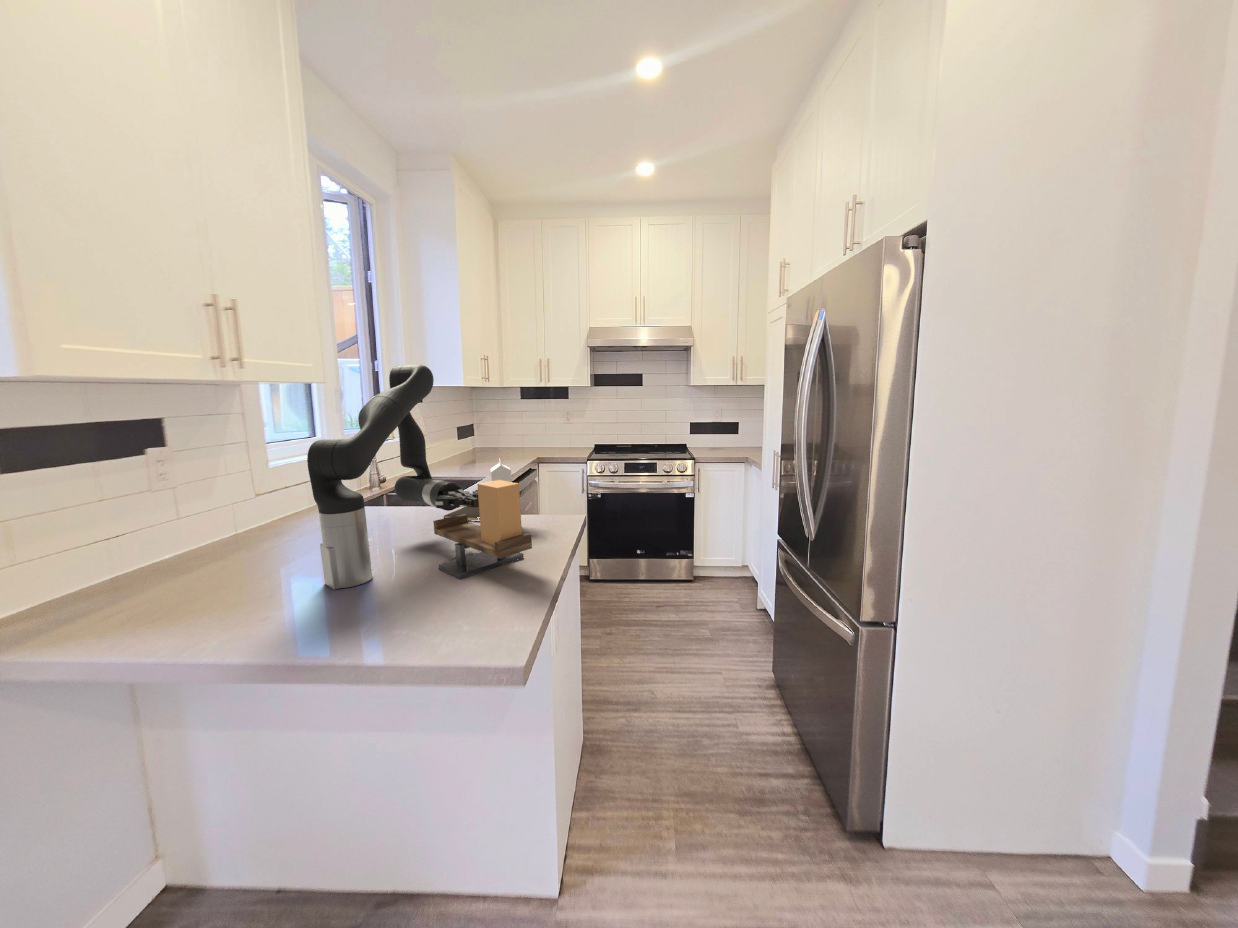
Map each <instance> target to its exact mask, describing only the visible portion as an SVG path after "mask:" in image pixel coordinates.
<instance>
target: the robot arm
mask: <svg viewBox="0 0 1238 928" xmlns="http://www.w3.org/2000/svg"><path fill="white" fill-rule="evenodd" d="M388 380H389V381H388V382H389V388H388V389H386V390H384V391H382V392H379V393H378V394H375V396H373V397H371V399H370V400H368V402H366V403H365V404H364V406H363V407H361V409H360V411H359V413H358V416H357V417H358V418H357V421H358V426H359V431H358V432H357V433H356V434H355V435H354V436H352V437H349V438H337V439H335V438H333V439H319V440H316V441H313V442H312V444H311V445H310V446H309V448H308V451H307V459H306V461H307V463H306V464H307V470H308V476H309V480H310V481H309V482H310V485H311V490H312V497H313V500H314V501H315V503H316V505H317V508H318V516H319V523H320V532H321V541H322V543H321V542H320V545H319V547H320V554H321V555H320V556H321V563H322V570H323V578H324V579H323V580H324V584H325V585H326V586H327V587H329V588H331V589H332V590H337V589H345V588H352V587H355V586H360V585H362V584H365V583H368V582H369V581H370V580H371V579H373V569H372V561H371V559H372V558H371V552H370V541H369V533H368V525H367V524H368V523H367V518H366V517H367V514H366V505H365V499H364V495H362V493H359V492H357V491H354V490H352V489H350V488H348V487H347V486H346V485H344V484H343V481H352V480H355V479H358V478H359V477H361V476H362V475H364V474H365V472H366V471H367V470H368V469H369V467H370V465H371V463H372V462H373V460H374V458H375V456H376V455H377V454H378V452H379V450H380V448H382V446H383V445H384V443H385V442H386V441H387V440H388V439H389V437H390V436H391V434H393V432H394V431H395V430H396V429H397V430H398V431H397V432H398V439H399V455H400V456H399V457H400V465H401V466H402V467H404V468H406V469H412V470H413V471H415V473H416V475H405V476H401V477H399V478H398V479H397V480H396V481H395V483H394V493H395V494H396V496H397V497H398V498H399V500H402V501H403V502H404V501H405V502H414V503H417V502H418V503H423V504H425V505H429V506H431V507H433V508H436V509H440V510H444V511H447V512H449V511H455V509H460V508H464V507H466V506H468V507H472V508H476V507H479V499H478V489H475V490H474V491H473V490H472V492H470V491H468V490H464V489H462V488H461V486H460V485H459V484H457V483H455V482H452V481H447V480H442V479H433V477H432V475H431V471H430V469H429V466H428V462H427V450H426V445H427V444H426V439H425V435H424V433H423V430H422V429H421V428H420V426H419V425H418V423H417V422H416V420H415V418H414V417H413V415H412V413H411V411H412V410H413V409H414V408H415V407H416V406H417V405H418V404H419V403H420V402H421V401H422V400H424V399H425V398H427V396H428V395H429V394H430V393H431V392H432V389H433V387H434V382H435V381H434V380H435V379H434V374H433V372H432V370H431V369H430V368H429V367H427V365H423V364H408V365H399V366H394V367H392V368H391V369H390V372H389V377H388Z"/></svg>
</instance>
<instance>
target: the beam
mask: <svg viewBox="0 0 1238 928" xmlns="http://www.w3.org/2000/svg"><path fill="white" fill-rule="evenodd" d="M432 522H433V531H434V533H433V534H434V535H437V536H440V537H442V538H444V539H447V540H450V541H452V542H455V543H456V544H457V543H461V544H464V545H465V550H466V549H469V548H471V549H473V550H476V551H479V552H484V553H486V554H489V555H491V556H494V557H497V558H499V559H500V558H503V557H506V556H509V555H512V554H516V553H519V552H520V553H522V552H524V551H528V550H531V549H532V548H533V543H532V533H529V532H526V533H522V534H521V535H518V536H515V537H511V538H508V539H504V540H501V541H497V542H495V546H494V545H491V544H488V543H485V542H482V541H481V527H480V525H479V524H476V523H472V522H471V521H468V518H467V515H466V514H462V515H457V516H453V517H449V518H444V517H443V518H440V519H436V520H433V521H432Z"/></svg>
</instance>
